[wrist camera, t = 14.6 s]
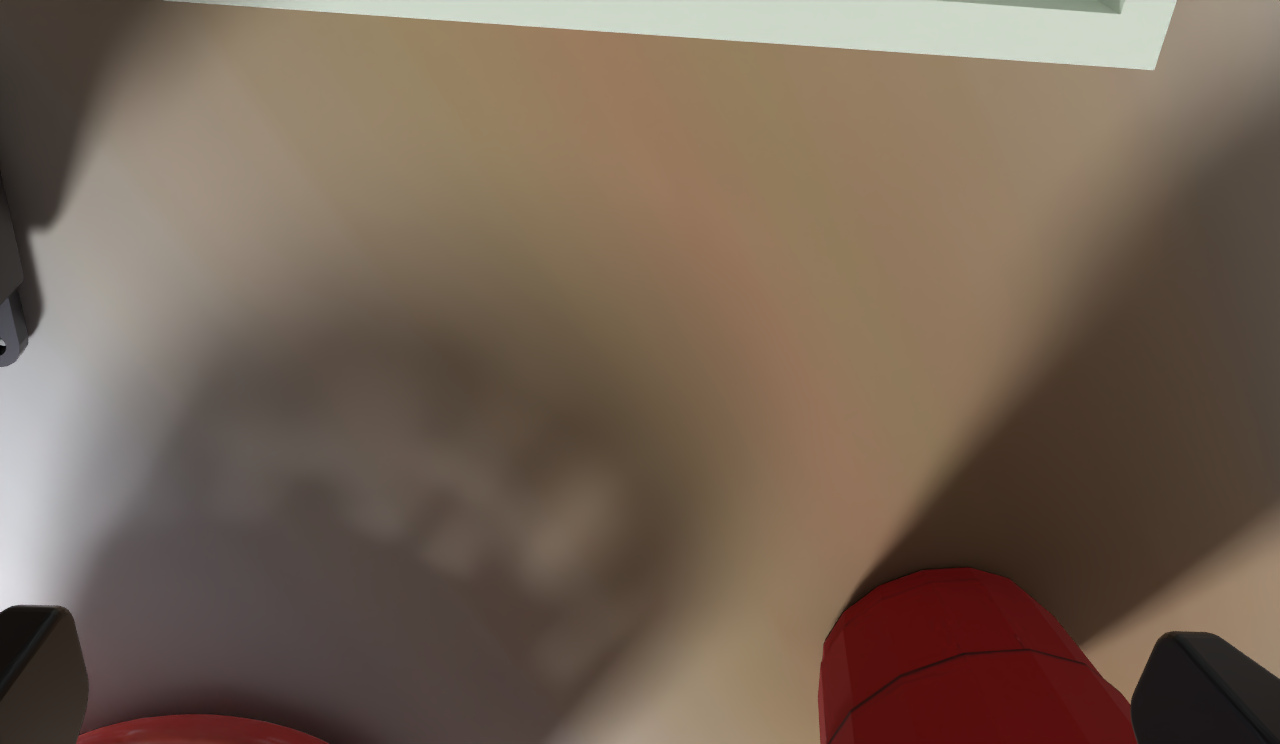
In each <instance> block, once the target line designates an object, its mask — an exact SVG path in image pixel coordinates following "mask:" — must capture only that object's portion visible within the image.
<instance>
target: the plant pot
mask: <svg viewBox="0 0 1280 744" xmlns="http://www.w3.org/2000/svg"><path fill="white" fill-rule="evenodd" d="M76 744H329V743H327V742H325V741H323V740H321V739H319V738H316V737H314V736H311V735H309V734H307V733H304V732H301V731H298V730H295V729H292V728H289V727H285V726H281V725H277V724H274V723H270V722H265V721H260V720H254V719H248V718H241V717H234V716H225V715H210V714H183V715H166V716H156V717H146V718H140V719H135V720H130V721H125V722H121V723H117V724H113V725H109V726H105V727H101V728H98V729H95V730H92V731H89V732H87V733H84V734H82V735H79V736H78V739H77V742H76Z"/></svg>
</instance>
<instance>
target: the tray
mask: <svg viewBox="0 0 1280 744" xmlns="http://www.w3.org/2000/svg"><path fill="white" fill-rule="evenodd" d="M163 1H177V2H192V3H206V4H220V5H234V6H249V7H263V8H277V9H291V10H306V11H320V12H334V13H348V14H363V15H377V16H391V17H405V18H420V19H434V20H448V21H462V22H477V23H491V24H505V25H519V26H534V27H548V28H562V29H576V30H591V31H605V32H619V33H633V34H648V35H662V36H676V37H690V38H705V39H719V40H733V41H747V42H762V43H776V44H790V45H804V46H819V47H833V48H847V49H861V50H876V51H890V52H904V53H918V54H933V55H947V56H961V57H975V58H990V59H1004V60H1018V61H1032V62H1047V63H1061V64H1075V65H1089V66H1104V67H1118V68H1132V69H1146V70H1154V69H1155V66H1156V63H1157V60H1158V57H1159V54H1160V50H1161V47H1162V44H1163V41H1164V38H1165V35H1166V32H1167V29H1168V26H1169V23H1170V20H1171V17H1172V13H1173V10H1174V7H1175V4H1176V1H1177V0H163Z"/></svg>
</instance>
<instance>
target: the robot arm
mask: <svg viewBox="0 0 1280 744" xmlns="http://www.w3.org/2000/svg"><path fill="white" fill-rule="evenodd" d="M23 279H24V274H23V270H22V265H21V261H20V256H19V252H18V247H17V243H16V239H15V234H14V230H13V225H12V221H11V216H10V212H9V207H8V203H7V199H6V194H5V190H4V185H3V181H2V176H1V172H0V338H2V339H3V340H4V342H5V344H6V346H2V345H0V367H4V366H8V365H10V364H12V363H14V362H15V361H16V360H17V359H18V358H19V356H20V355H21V354H22V353H23V351H24V350H25V348H26V347H27V345H28V333H27V329H26V324H25V320H24V316H23V311H22V307H21V303H20V298H19V294H18V290H17V287H18V286H19V285H20V284H21V283H22V281H23ZM88 694H89V682H88V676H87V672H86V667H85V663H84V659H83V655H82V651H81V647H80V643H79V638H78V634H77V630H76V626H75V622H74V619H73V617H72V614H71V613H70V612H69V610H68V609H66V608H64V607H61V606H49V605H16V606H12V607H9V608H7V609H5V610H4V611H2V612H0V744H76V742H77V739H78V736H79V732H80V729H81V725H82V722H83V719H84V715H85V712H86V708H87V702H88ZM1130 716H1131V723H1132V727H1133V731H1134V734H1135V737H1136V741H1137V744H1280V679H1279V678H1277V677H1276V676H1275V675H1273V674H1272V673H1270V672H1269V671H1268V670H1266V669H1265V668H1263V667H1262V666H1260V665H1259V664H1258V663H1256V662H1255V661H1253V660H1252V659H1250V658H1249V657H1248V656H1246V655H1245V654H1243V653H1242V652H1241V651H1239V650H1238V649H1236V648H1235V647H1233V646H1232V645H1231V644H1229V643H1228V642H1226V641H1225V640H1223V639H1222V638H1220V637H1219V636H1217V635H1215V634H1212V633H1207V632H1179V631H1172V632H1167V633H1165V634H1164V635H1162V636H1161V637H1160V638H1159V639H1158V640H1157V642H1156V644H1155V646H1154V648H1153V650H1152V653H1151V655H1150V657H1149V659H1148V662H1147V664H1146V666H1145V668H1144V671H1143V673H1142V675H1141V677H1140V679H1139V682H1138V684H1137V686H1136V688H1135V691H1134V693H1133V696H1132V700H1131V706H1130Z"/></svg>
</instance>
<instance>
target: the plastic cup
mask: <svg viewBox="0 0 1280 744" xmlns="http://www.w3.org/2000/svg"><path fill="white" fill-rule="evenodd" d="M1130 706H1131V705H1130V704H1129V702H1128V701H1127V700H1126V699H1125V697H1124V696H1123V695H1122V694H1121V692H1119V691H1118V690H1117V689H1116V688H1114V687H1113V686H1112V685H1111V684H1110V683H1108V682H1107V681H1106V680H1105V679H1104V678H1103V677H1102V676H1101V675H1100V673H1099V672H1098V671H1097V670H1096V668H1095V667H1094V666H1093V665H1092V663H1091V662H1090V661H1089V660H1088V658H1087V657H1086V656H1085V655H1084V653H1083V652H1082V651H1081V650H1080V648H1079V647H1078V646H1077V645H1076V643H1075V642H1074V641H1073V640H1072V638H1071V637H1070V636H1069V635H1068V633H1067V632H1066V631H1065V630H1064V628H1063V627H1062V626H1061V624H1060V623H1059V622H1058V621H1057V619H1056V618H1055V617H1054V616H1053V615H1052V614H1051V613H1049V612H1048V611H1047V610H1046V609H1045V608H1043V607H1042V606H1041V605H1040V604H1039V603H1037V601H1036V600H1034V599H1033V598H1032V597H1031V596H1030V595H1028V594H1027V593H1026V592H1025V591H1024V590H1022V589H1021V588H1020V587H1019V586H1018V585H1016V584H1015V583H1014V582H1013V581H1012V580H1010V579H1009V578H1006V577H1003V576H999V575H995V574H992V573H988V572H984V571H981V570H977V569H974V568H970V567H964V568H947V569H930V570H921V571H918V572H916V573H913V574H910V575H907V576H904V577H902V578H899V579H896V580H893V581H891V582H888V583H885V584H882V585H879V586H878V587H876V588H875V589H874V590H872V591H871V592H870V593H868V594H867V595H866V596H864V597H863V598H862V599H860V600H859V601H858V602H856V603H855V604H854V605H852V606H851V607H850V608H848V609H847V610H846V611H844V612H843V614H842V615H841V617H840V619H839V620H838V622H837V623H836V625H835V627H834V628H833V630H832V631H831V633H830V634H829V636H828V638H827V639H826V641H825V642H824V646H823V658H822V662H821V667H820V679H819V691H818V707H819V725H820V743H821V744H1137V741H1136V737H1135V734H1134V731H1133V727H1132V723H1131V716H1130Z"/></svg>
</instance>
